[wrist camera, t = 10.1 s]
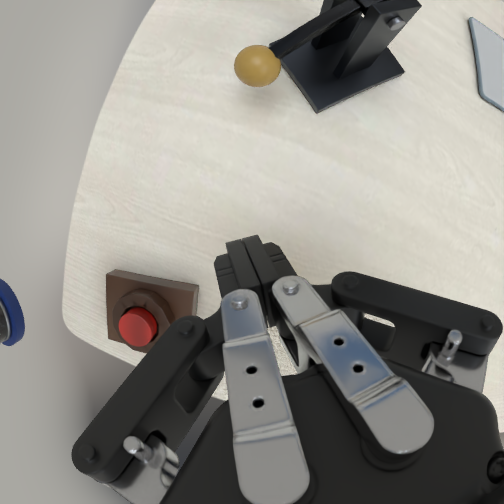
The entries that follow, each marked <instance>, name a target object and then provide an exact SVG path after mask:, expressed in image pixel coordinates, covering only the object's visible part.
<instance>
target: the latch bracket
mask: <svg viewBox="0 0 504 504" xmlns="http://www.w3.org/2000/svg"><path fill="white" fill-rule="evenodd" d="M345 1H347V0H324V1H323V5H322V8H321V12H320V15H321V14H323V13H324V12H326V11H328V10H330V9H332V8H333V7H335V6H337V5H339V4H341V3H343V2H345ZM421 6H422V5H421V4H420V3H419V2H418V1H417V0H388V1H383V2H378V3H374V4H371V6H370V7H369V9H368V11H367V13H366V14H365V16H364V18H363V17H362V16H361V15H362V12H361V13H359V14H357V15H355V16H353V17H351V18H349V19H347V20H345V21H343V22H341V23H340V24H338V25H336V26H334V27H332V28H331V29H329V30H327V31H325V32H324V33H322V34H320V35H319V36H317V37H315V38H314V39H312V40H310V41H309V42H307V43H305V44H304V45H302V46H301V47H299V48H297V49H296V50H294V51H293V52H291V53H290V54H288V55H287V56H285V57H284V58H282V59H281V60H280V62H281V64H282V66H283V67H284V68H285V70H286V71H287V72H288V74H289V75H290V76H291V78H292V79H293V80H294V82H295V83H296V85H297V86H298V87H299V89H300V90H301V92H302V93H303V94H304V96H305V97H306V99H307V100H308V102H309V103H310V105H311V106H312V108H313V109H314V111H315V112H316V113H319V112H321V111H323V110H325V109H327V108H329V107H331V106H333V105H335V104H337V103H339V102H341V101H343V100H345V99H348V98H350V97H352V96H354V95H356V94H359V93H361V92H363V91H365V90H368V89H370V88H372V87H374V86H377V85H379V84H381V83H384V82H386V81H389V80H391V79H394V78H396V77H399V76H401V75H402V74H403V73H405V71H404V70H403V68H402V67H401V65H400V64H399V62H398V61H397V60H396V58H395V57H394V56H393V54H392V53H391V51H390V50H389V49H388V48H387V46H388V45H389V43H390V42H391V41H392V40H393V39H394V38H395V36H396V35H397V34H398V33H399V32H400V31H401V29H402V28H403V27H404V26H405V25H406V24H407V22H408V21H409V20H410V19H411V18H412V17H413V16H414V14H415V13H416V12H417V11H418V10H419V9H420V8H421ZM279 40H281V39H279ZM279 40H277V41H275V42H272V43H270V44H269V47H270V46H272V45H273V44H275V43H276V42H278V41H279Z"/></svg>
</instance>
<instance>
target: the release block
mask: <svg viewBox="0 0 504 504" xmlns="http://www.w3.org/2000/svg"><path fill="white" fill-rule="evenodd" d="M198 288H199V285H194V284H188V283H183V282H177V281H172V280H167V279H161V278H156V277H151V276H146V275H141V274H136V273H131V272H126V271H121V270H116V269H115V270H113V271H111V272H109V273H107V274H106V304H107V326H108V339H110V340H114V341H117V342H121V343H124V344H126V345H128V346H129V347H130V348H131V349H133V350H136V351H139V352H143V353H148V352H149V351H150V349H151V348H152V347H153V346H154V345H155V343H156V342H157V341H158V340H159V338H160V337H161V336H162V335H163V334H164V332H165V331H166V330H167V329H168V328H169V326H170V325H171V324H172V323H173V322H174V321H176V320H177V319H179V318H181V317H184V316H190V315H193V316H196V310H197V299H198ZM136 307H138V308H143V309H145V310H147V311H149V312H150V313H151V314H152V315H153V317H154V318H155V320H156V323H157V331H156V334H155V335H154V336H153V338H152V339H151V340H150V342H149V343H148V344H147V345H145V346H140V347H138V346H134V345H131V344H129V343H128V342H127V341H126V340H125V339H124V338H123V337H122V335H121V333H120V331H119V321H120V319H121V317H122V316H123V315H124V314H126V313H127V312H128V311H129V310H130V309H132V308H136Z"/></svg>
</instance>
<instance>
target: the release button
mask: <svg viewBox="0 0 504 504" xmlns="http://www.w3.org/2000/svg"><path fill="white" fill-rule="evenodd" d="M119 331H120V333H121V335H122V337H123V338H124V339H125V340H126V341H127V342H128V343H129V344H131V345H134V346H138V347H140V346H145V345H147V344H148V343H149V342H150V340H151V339H152V338H153V336H154V335H155V334H156V331H157V323H156V320H155V318H154V317H153V315H152V314H151V313H150V312H149V311H147V310H145V309H143V308H138V307H136V308H132V309H130V310H129V311H128V312H127V313H126V314H124V315H123V316H122V317H121V319H120V321H119Z"/></svg>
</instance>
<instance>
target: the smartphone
mask: <svg viewBox="0 0 504 504" xmlns="http://www.w3.org/2000/svg"><path fill="white" fill-rule="evenodd" d="M469 24H470V29H471V33H472V39H473V44H474V50H475V57H476V64H477V73H478V83H479V93H480V95H481V97H482V98H483V99H485V100H487V101H488V102H490V103H491V104H493V105H495V106H496V107H498V108H499V109H501V110H502V111H504V39H503V38H502V37H500V36H499V35H498V34H496V33H495V32H493V31H492V30H491V29H489V28H488V27H486V26H485V25H483V24H482V23H480V22H479V21H477V20H476V19H474V18H473V17H470V18H469Z"/></svg>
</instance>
